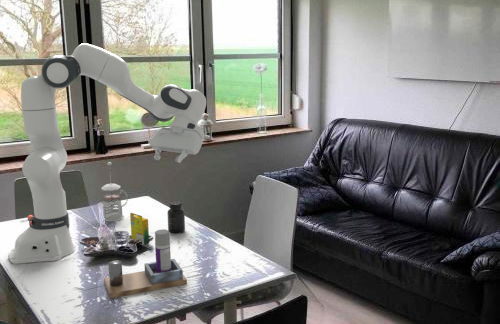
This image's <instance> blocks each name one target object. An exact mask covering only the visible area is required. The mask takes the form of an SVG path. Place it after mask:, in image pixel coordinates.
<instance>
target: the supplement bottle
mask: <svg viewBox="0 0 500 324" xmlns="http://www.w3.org/2000/svg"><path fill="white" fill-rule="evenodd" d="M185 220H186V218H185V210H184V209H183V205H182V202H181V201H171V202H170V203H169V209H168V210H167V230H168V231H169V234H172V235H176V234H178V235H179V234H183V233H184V232H186V221H185Z"/></svg>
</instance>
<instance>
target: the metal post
mask: <svg viewBox="0 0 500 324" xmlns="http://www.w3.org/2000/svg"><path fill="white" fill-rule="evenodd" d="M107 264H108V275H109V276H108V277H109V279H110V286H113V287H118V286H121V285H122V284H123V275H124V274H123V262H122V261H121V260H118V259H117V260H112V261H109V262H108V263H107Z"/></svg>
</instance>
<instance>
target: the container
mask: <svg viewBox="0 0 500 324" xmlns="http://www.w3.org/2000/svg"><path fill="white" fill-rule="evenodd" d="M154 239H155V240H154V247H155V248H154V249H155V262H156V271H157V273H161V272H167V271H171V259H172V258H171V257H172V256H171V241H170V239H171V238H170V232H169V231H168V229H157V230H156V231H154Z"/></svg>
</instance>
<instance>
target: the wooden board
mask: <svg viewBox="0 0 500 324" xmlns="http://www.w3.org/2000/svg"><path fill="white" fill-rule="evenodd" d="M143 264H144V266H143V267H144V270H142V271H135V272H130V273H124V274H123V284H122V285H121V286H118V287H113V286H110V279H109V276H107V277H106V276H105V277H103V283H104V285H105V288H106V292H107V294H108V297H109V299H114V298H115V299H116V298H119V297H123V296H124V297H125V296H130V295H136V294H140V293H146V292H151V291H152V292H153V291H158V290H162V289H163V290H164V289H167V288H171V287H177V286H183V285H188V282H187V281H188V279H187V278H186V277H185V275H184V273H183V272H184V271H183V268H182V267H181V266H180V265H179V263H178V262H177V260H176V258H171V271H167V272H161V273H157V271H156V261H152V262H147V263H143Z"/></svg>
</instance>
